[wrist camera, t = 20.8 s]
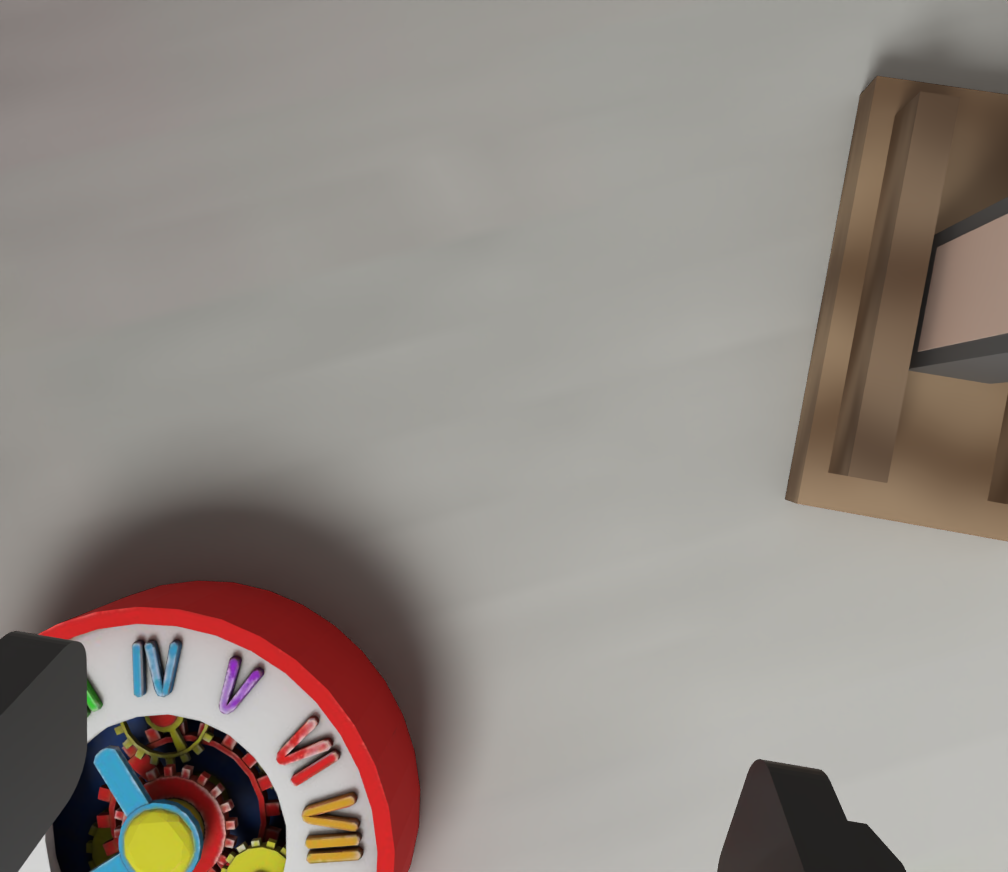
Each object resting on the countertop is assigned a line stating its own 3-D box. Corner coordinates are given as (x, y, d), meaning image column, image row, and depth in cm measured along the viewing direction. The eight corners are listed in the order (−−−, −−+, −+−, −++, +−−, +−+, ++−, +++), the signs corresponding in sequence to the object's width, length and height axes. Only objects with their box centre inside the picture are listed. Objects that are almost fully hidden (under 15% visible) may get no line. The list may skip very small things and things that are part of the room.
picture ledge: (1016, 540, 36) (1079, 557, 32) (784, 499, 37) (814, 509, 33) (1096, 129, 36) (1171, 86, 32) (860, 94, 37) (901, 48, 32)
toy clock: (492, 942, 33) (82, 1189, 34) (503, 864, 39) (152, 1077, 40) (219, 510, 33) (-174, 771, 35) (271, 498, 39) (-67, 721, 41)
